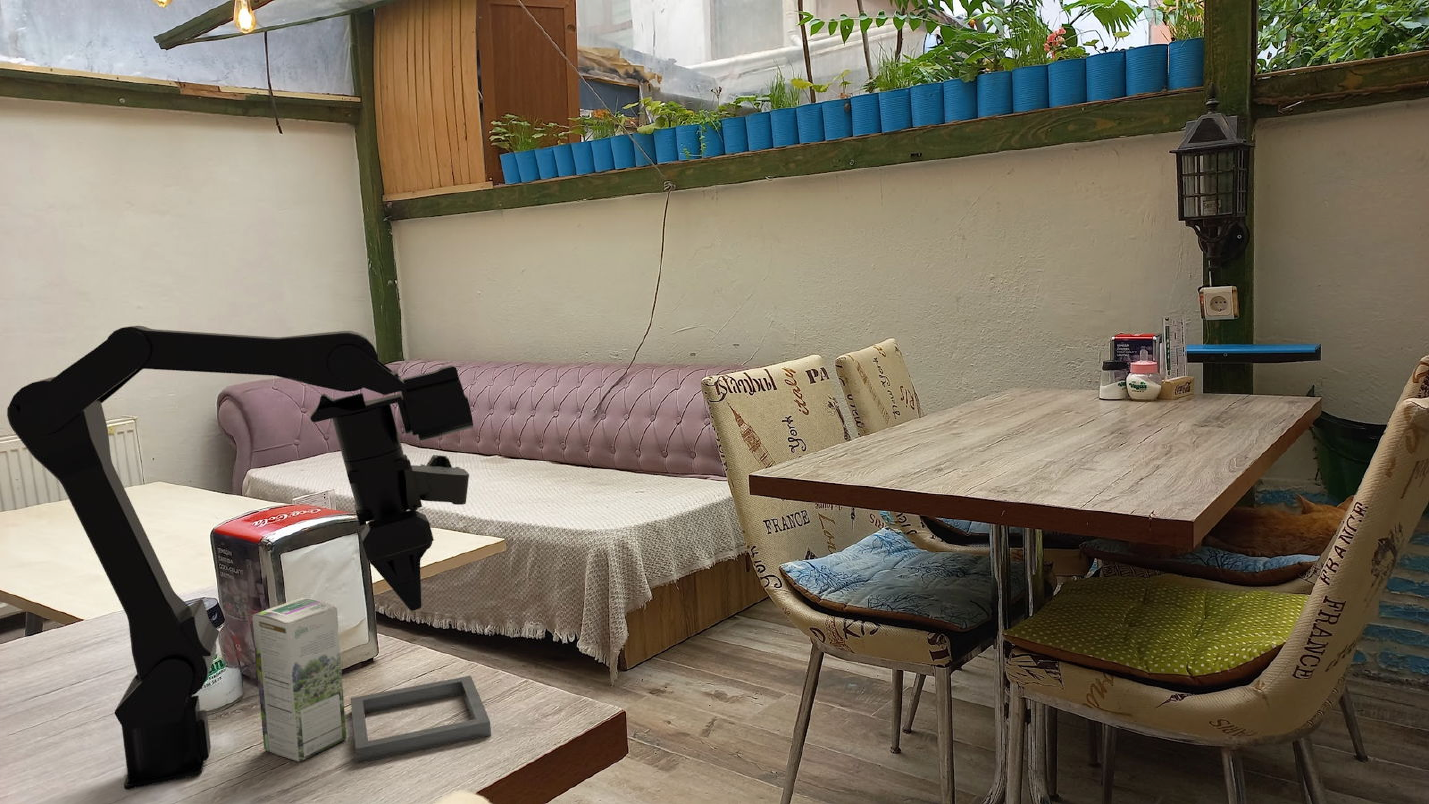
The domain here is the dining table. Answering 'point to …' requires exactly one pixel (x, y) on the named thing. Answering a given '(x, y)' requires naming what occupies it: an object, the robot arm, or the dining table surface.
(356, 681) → the dining table surface
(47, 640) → the dining table surface
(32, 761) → the dining table surface
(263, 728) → the syrup box
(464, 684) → the collar socket
